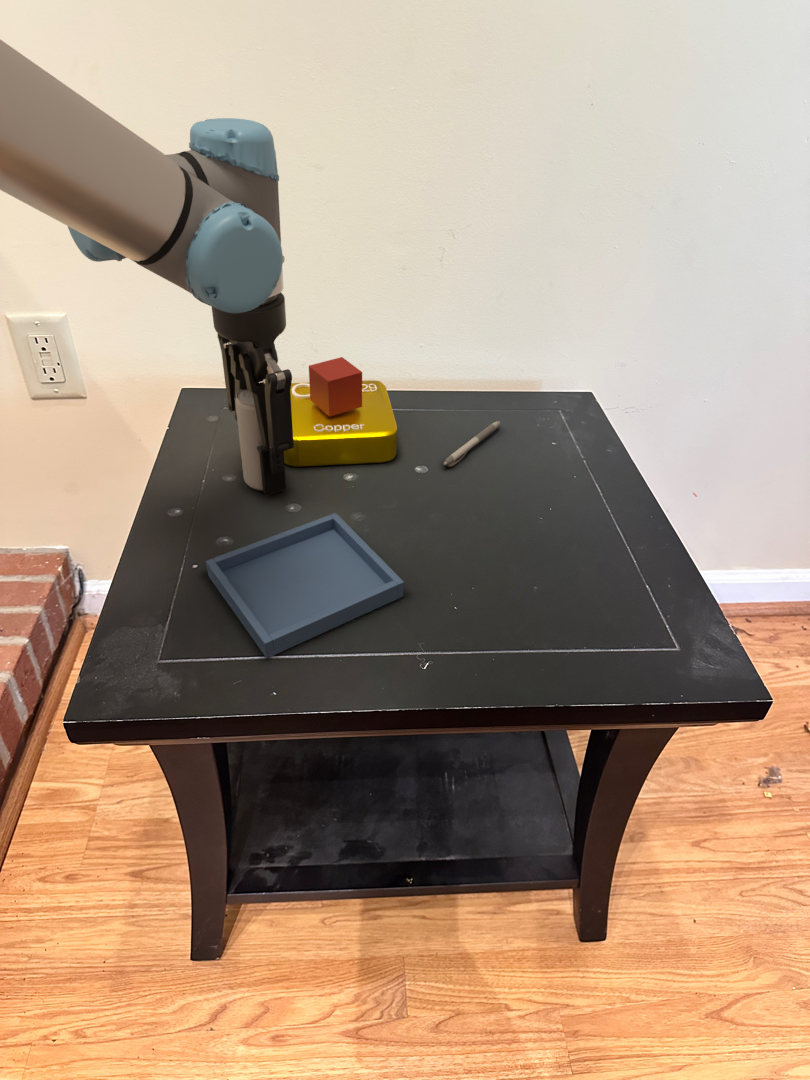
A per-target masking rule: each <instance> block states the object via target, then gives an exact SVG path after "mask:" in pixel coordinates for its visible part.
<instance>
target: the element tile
mask: <svg viewBox="0 0 810 1080" xmlns="http://www.w3.org/2000/svg"><path fill="white" fill-rule="evenodd" d="M388 392H389V391H388V389H387V386H386V384H384V383H383V382H382V381H380V380H362V407H360V408H356V409H353V410H350V411H346V412H343V413H340V414H336V415H333V416H330V417H329V416H328V415H327V414H326V413H325V412H323V411H322V410H321V409H320V408H319V407H318V406H316V405H315V404H314V403H313V402H312V401H311V400H310V383H309V382H291V389H290V394H291V410H292V427H293V443H294V447H293V448H292V449H289V450H285V451H284V463H285V465H287V466H289V467H298V468H302V467H317V466H318V467H319V466H320V467H321V466H339V465H341V466H342V465H358V464H359V465H361V464H377V463H386V462H390V461H392V460H393V459H395V457H396V455H397V451H398V449H397V446H398V425H397V421H396V418H395V413H394V410H393V407H392V404H391V400H390V396H389V393H388Z"/></svg>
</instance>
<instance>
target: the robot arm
mask: <svg viewBox="0 0 810 1080" xmlns="http://www.w3.org/2000/svg"><path fill="white" fill-rule="evenodd" d="M188 147H189V149H190V150H183V151H181V152H178V153H177V152H176V153H171V154H169V153H168V154H165V153H164V152H162V151H160V149H158V148H157V147H155V146H154V145H152V144H151V143H149V142H148V141H146V140H145V139H144V138H142V137H141V136H139V135H138V134H136V133H135V132H134V131H132V130H131V129H129V128H128V127H126V125H124V124H122V123H121V122H119V121H118V120H116V118H114V117H112V116H111V115H109V114H108V113H106V112H105V111H104V110H102V109H101V108H99V107H98V106H96V105H95V104H93V103H92V102H90V101H89V100H88V99H86V98H85V97H84V96H82V95H81V94H79V93H77V92H76V91H75V90H74V89H72V88H71V87H69V86H68V85H66V83H63V82H62V81H61V80H59V79H58V78H57V77H55V76H54V75H52V74H51V73H49V72H48V71H47V70H45V69H43V68H42V67H41V66H39V65H38V64H36V63H35V62H34V61H32V60H31V59H29V58H28V57H26V56H25V55H23V54H22V53H21V52H19V51H18V50H17V49H15V48H13V46H10V45H9V44H8V43H6V42H5V41H3V39H1V38H0V191H1V192H3V193H5V194H7V195H9V196H11V197H13V198H15V199H17V200H19V201H20V202H22V203H23V204H26V205H28V206H30V207H32V208H33V209H35V210H37V211H39V212H40V213H43V214H45V215H46V216H47V217H50V218H52V219H53V220H56V221H58V222H60V223H61V224H63V225H65V226H67V228H68V231H69V234H70V236H71V238H72V240H73V242H74V244H75V246H76V247H77V249H78V250H79V251H80V253H82V255H83V256H84V257H85V258H87V259H88V260H90V261H91V262H92V261H93V262H96V263H97V262H99V263H101V262H108V261H117V262H122V261H123V260H125V259H129V260H130V261H132V262H134V263H136V264H137V265H138V266H140V267H142V268H144V269H146V270H147V271H150V272H151V273H153V274H155V275H157V276H158V277H161V278H162V279H164V280H165V281H168V282H169V283H171V284H174V285H176V286H178V287H179V288H181V289H183V290H185V291H186V292H188V293H189V294H190V295H192V296H193V297H194V298H195V299H196V300H197V301H199V302H200V303H203V304H204V305H207V306H210V307H211V313H212V321H213V328H214V330H215V332H216V333H217V340H218V343H219V348H220V352H221V359H222V367H223V377H224V384H225V392H226V402H227V408H228V410H229V411H230V412H232V413H233V412H234V420H235V421H236V423H238V421H237V412H236V403H235V401H236V393H237V391H238V390H240V389H242V390H245V389H248V391H250V392H252V394H253V398H254V404H255V409H256V414H257V419H258V424H259V429H260V434H261V440H262V446H258V447H257V450H258V452H259V453H260V464H261V474H262V485H263V491H262V493H263V494H264V496H266V497H267V496H270V495H273V494H276V493H279V492H282V491H285V490H287V481H286V464H285V462H284V451H285V450H289V449H292V448H293V447H294V443H293V427H292V410H291V394H290V389H291V383H293V375H292V371H291V370H290V369H289V368H287V369H283V370H282V369H281V367H280V366H279V364H278V363H279V357H278V352H277V348H276V344H275V341H276V339H277V338H278V337H279V336H280V335H281V334H282V333H283V332H284V331H285V330H286V327H287V313H286V299H285V298H286V297H285V295H284V293H282V292H283V291H284V273H283V272H284V271H283V264H284V263H285V260H286V259H285V256H284V254H283V247H282V236H281V235H282V234H281V214H280V195H279V194H280V193H279V181H280V175H279V172H278V171H279V170H278V164H277V153H276V148H275V142H274V136H273V134H272V132H271V130H270V129H269V128H268V127H267V126H266V125H264V124H263V123H260V122H259V121H256V120H255V121H254V120H250V119H244V118H234V117H232V118H231V117H222V118H221V117H220V118H219V117H217V118H207V119H205V120H199V121H196V122H195V123H193V124H192V125H191V127H190V130H189V142H188Z"/></svg>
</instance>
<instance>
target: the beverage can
mask: <svg viewBox="0 0 810 1080" xmlns="http://www.w3.org/2000/svg"><path fill="white" fill-rule="evenodd" d="M235 403H236V412H237V421H238V422H237V421H236V422H237V430H238V439H239V448H240V449H239V450H240V456H241V457H240V458H241V467H242V476H243V481H244V483H245V484H246V485H247V486H248V487H249V488H251V489H253V490H256V491H261V492H263V485H262V474H261V464H260V453H259V452H258V450H257V447H258V446H262V440H261V434H260V429H259V424H258V419H257V414H256V409H255V404H254V398H253V394H252V392H250V391H248V389H245V390H242V389H240V390H238V391H237V393H236V401H235Z"/></svg>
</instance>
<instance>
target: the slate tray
mask: <svg viewBox="0 0 810 1080" xmlns="http://www.w3.org/2000/svg"><path fill="white" fill-rule="evenodd" d="M205 565H206V571H207V576H208V578H209V580H211V582H212V583H213V585H214V586H215V588H216V589H217V590H218V592H219V593H220V595H221V596H222V597H223V599H224V600H225V602H226V604H227V605H228V606H229V607H230V609H231V610H232V611H233V613H234V615H235V616H236V617H237V619H238V620H239V622H240V623H241V625H242V626H243V628H244V629H245V630H246V632H247V633H248V634H249V636H250V638H251V639H252V640H253V642H254V643H255V644H256V646H257V647H258V649H259V650H260V651H261V653H262V654H263V656H264V657H265V658H266V659H269V658H271V657H273V656H275V655H277V654H280V653H282V652H284V651H287V650H289V649H291V648H292V647H295V646H298V645H300V644H302V643H304V642H306V641H309V640H311V639H312V638H315V637H317V636H319V635H322V634H324V633H327V632H328V631H330V630H333V629H334V628H337V627H339V626H341V625H343V624H347V623H348V622H350V621H353V620H354V619H357V618H359V617H362V616H363V615H366V614H368V613H370V612H372V611H375V610H377V609H379V608H381V607H384V606H386V605H388V604H390V603H392V602H394V601H397V600H399V599H401V598H403V597H404V592H405V591H404V589H405V588H404V587H405V581H404V580H403V579H402V578H401V577H400V576H399V575H398V574H397V573H396V572H395V571H394V570H393V569H392V568H391V567H390V565H388V564H387V563H386V562H385V561H384V559H382V558H381V557H380V555H378V554H377V553H376V552H375V551H374V550H373V548H371V547H370V545H368V544H367V542H366V541H365V540H364V539H363V538H362V537H360V535H358V534H357V532H355V530H354V529H352V527H351V526H349V525H348V524H347V522H346V521H345V520H344V519H343V518H342V517H341V516H340V515H339V514H338V513H337V512H334V513H331V514H329V515H326V516H323V517H320V518H317V519H315V520H312V521H309V522H307V523H305V524H301V525H299V526H296V527H294V528H290V529H288V530H285V531H282V532H279V533H277V534H274V535H272V536H269V537H266V538H264V539H261V540H258V541H255V542H253V543H250V544H248V545H245V546H242V547H239V548H237V549H234V550H231V551H228V552H225V553H224V554H221V555H217V556H215V557H213V558H210V559H207V560H205Z"/></svg>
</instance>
